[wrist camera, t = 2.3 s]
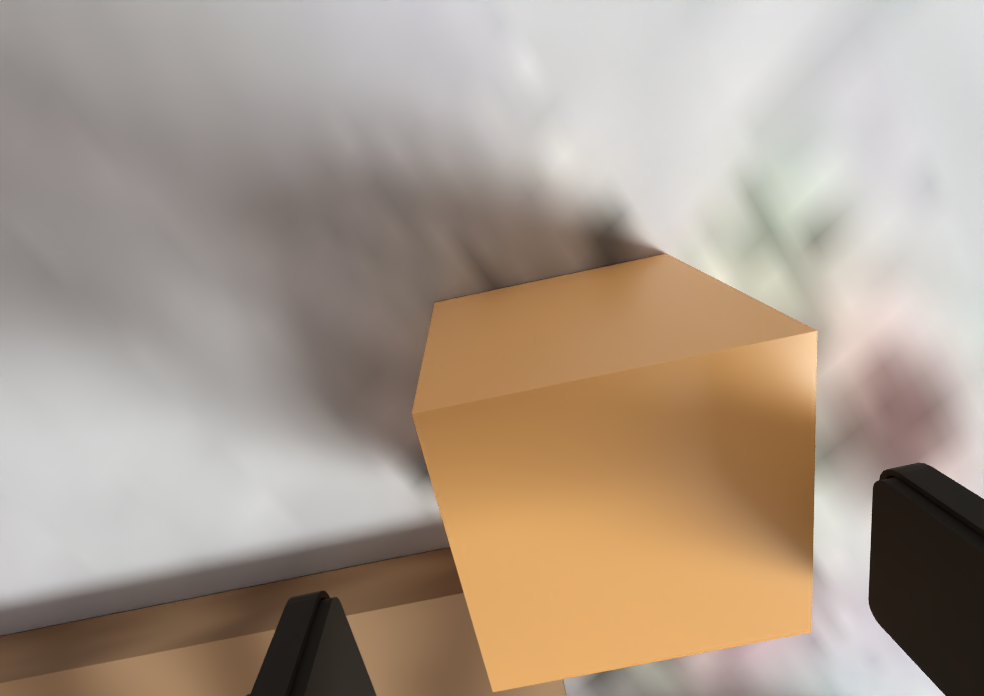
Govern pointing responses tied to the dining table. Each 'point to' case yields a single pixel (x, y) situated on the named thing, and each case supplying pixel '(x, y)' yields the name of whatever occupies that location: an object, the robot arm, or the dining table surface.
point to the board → (266, 639)
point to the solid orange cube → (621, 467)
